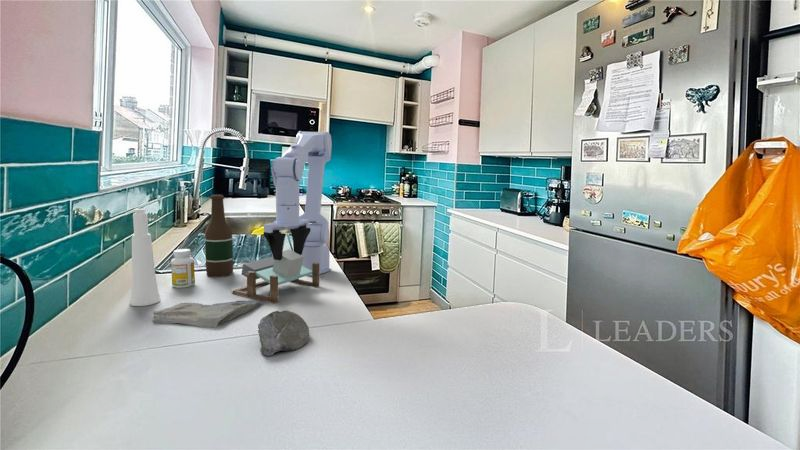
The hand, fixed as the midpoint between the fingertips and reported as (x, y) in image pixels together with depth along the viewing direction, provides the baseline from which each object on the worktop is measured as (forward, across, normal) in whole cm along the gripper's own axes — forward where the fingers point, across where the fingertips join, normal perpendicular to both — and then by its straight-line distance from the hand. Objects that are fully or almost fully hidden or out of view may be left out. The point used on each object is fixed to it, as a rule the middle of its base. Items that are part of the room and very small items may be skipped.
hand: (288, 256), depth 99 cm
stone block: (+4, 0, -1) cm, 4 cm away
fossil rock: (+10, +20, -5) cm, 23 cm away
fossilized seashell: (+10, +23, +19) cm, 32 cm away
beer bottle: (+10, -3, -30) cm, 31 cm away
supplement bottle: (+10, +10, -28) cm, 31 cm away
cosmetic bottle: (+10, +23, -23) cm, 34 cm away
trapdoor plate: (+6, 0, -4) cm, 7 cm away
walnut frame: (+9, 0, -4) cm, 10 cm away
